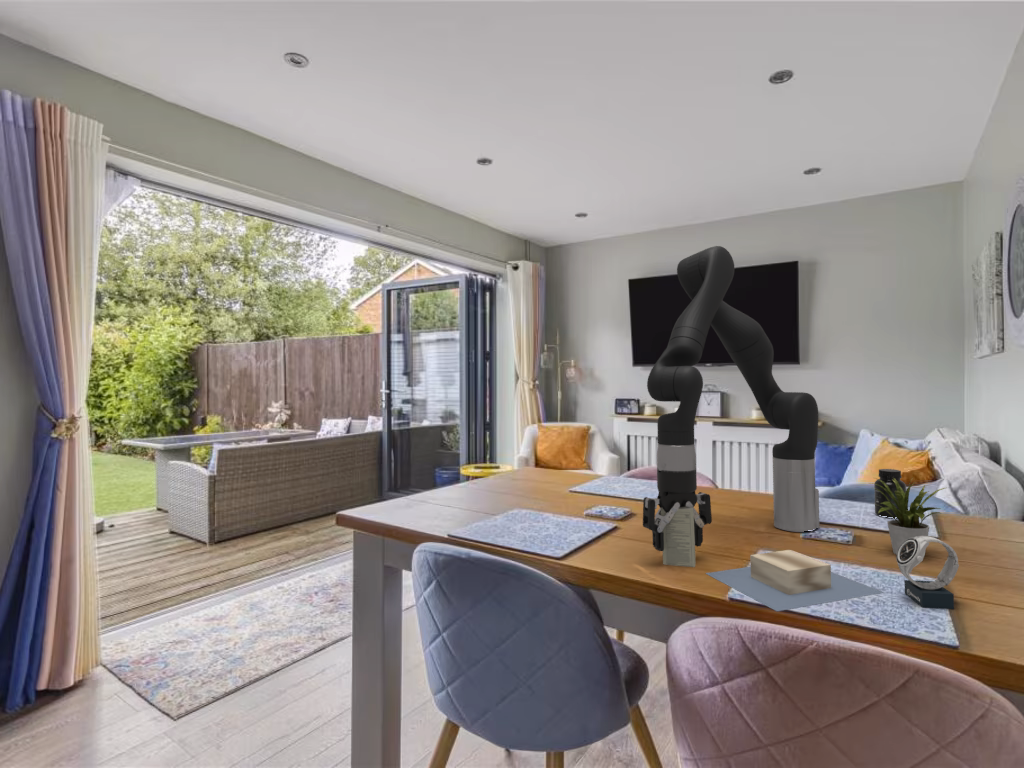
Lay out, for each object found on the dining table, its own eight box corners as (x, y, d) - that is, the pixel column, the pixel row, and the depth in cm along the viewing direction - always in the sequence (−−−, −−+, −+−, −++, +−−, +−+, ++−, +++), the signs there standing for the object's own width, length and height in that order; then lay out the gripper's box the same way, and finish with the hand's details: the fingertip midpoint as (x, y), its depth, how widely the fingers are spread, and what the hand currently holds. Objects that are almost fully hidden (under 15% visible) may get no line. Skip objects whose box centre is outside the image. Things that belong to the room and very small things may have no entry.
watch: (891, 598, 92) (890, 532, 92) (946, 600, 90) (945, 533, 90) (908, 612, 86) (907, 542, 86) (967, 615, 85) (966, 543, 85)
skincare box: (695, 564, 110) (694, 503, 110) (695, 571, 106) (694, 508, 106) (663, 561, 113) (662, 502, 112) (661, 568, 108) (660, 507, 108)
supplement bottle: (870, 512, 148) (869, 468, 148) (898, 513, 146) (897, 468, 146) (882, 518, 141) (881, 472, 141) (912, 519, 140) (911, 472, 140)
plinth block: (790, 570, 103) (790, 549, 103) (831, 587, 95) (830, 564, 94) (750, 576, 101) (750, 555, 101) (788, 594, 92) (788, 571, 92)
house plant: (845, 548, 118) (843, 472, 118) (886, 539, 124) (885, 467, 124) (916, 568, 105) (914, 483, 105) (959, 557, 110) (957, 476, 110)
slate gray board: (799, 563, 109) (799, 559, 109) (884, 597, 92) (884, 592, 92) (705, 577, 103) (705, 573, 103) (777, 616, 86) (777, 611, 86)
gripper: (695, 461, 115) (697, 539, 115) (635, 466, 111) (636, 546, 111) (719, 466, 108) (720, 549, 108) (654, 471, 104) (656, 557, 104)
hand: (678, 547), depth 109 cm, fingers open, 8 cm apart
